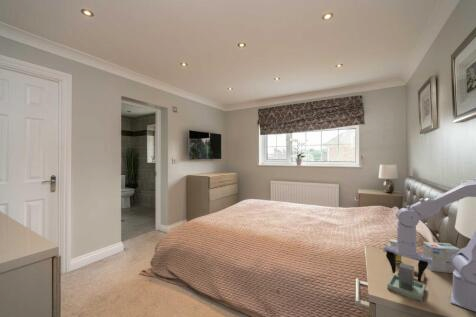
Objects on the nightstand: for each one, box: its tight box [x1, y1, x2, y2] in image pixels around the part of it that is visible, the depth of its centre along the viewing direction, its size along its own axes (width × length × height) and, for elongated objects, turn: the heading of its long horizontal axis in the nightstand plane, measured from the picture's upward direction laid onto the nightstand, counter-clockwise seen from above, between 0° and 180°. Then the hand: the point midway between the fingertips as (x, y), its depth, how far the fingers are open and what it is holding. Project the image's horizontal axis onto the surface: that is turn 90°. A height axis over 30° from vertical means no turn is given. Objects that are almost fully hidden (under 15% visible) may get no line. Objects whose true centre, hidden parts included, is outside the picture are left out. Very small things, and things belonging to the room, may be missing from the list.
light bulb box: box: [422, 241, 461, 274], centre depth 96 cm, size 11×7×11 cm, turn 77°
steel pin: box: [398, 262, 415, 292], centre depth 82 cm, size 4×4×8 cm
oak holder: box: [397, 269, 426, 284], centre depth 90 cm, size 8×8×2 cm
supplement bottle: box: [387, 238, 402, 264], centre depth 103 cm, size 5×5×10 cm
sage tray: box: [386, 273, 426, 303], centre depth 82 cm, size 10×10×2 cm
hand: (406, 276), depth 82 cm, fingers open, 7 cm apart
